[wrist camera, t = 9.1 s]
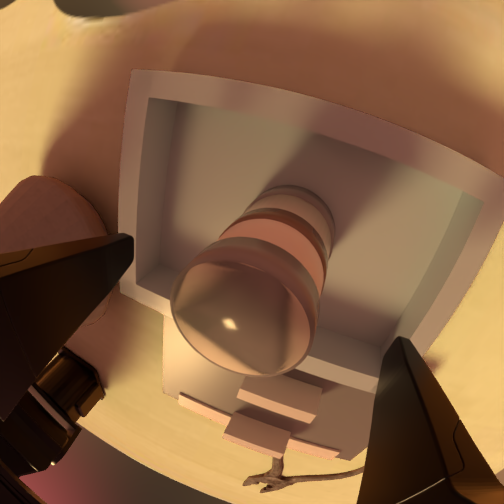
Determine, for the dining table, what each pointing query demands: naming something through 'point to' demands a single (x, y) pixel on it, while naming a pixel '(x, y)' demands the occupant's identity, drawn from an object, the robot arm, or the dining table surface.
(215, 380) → the fuse panel
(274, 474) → the pliers
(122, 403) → the dining table surface
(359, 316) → the tray
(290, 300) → the cylinder
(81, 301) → the robot arm
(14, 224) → the coffee pot
